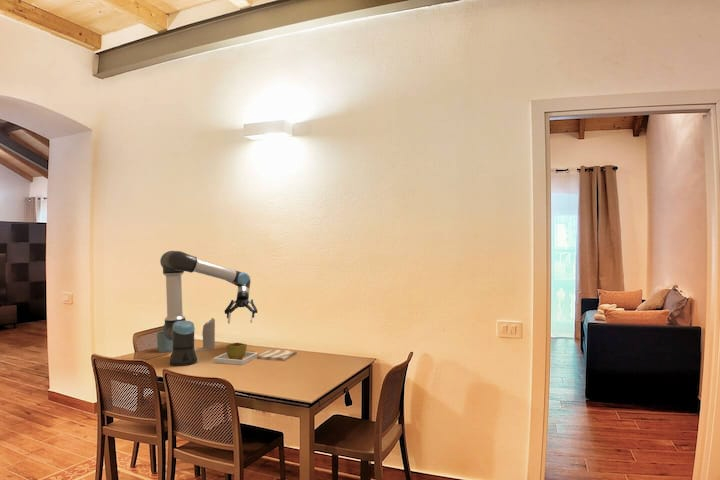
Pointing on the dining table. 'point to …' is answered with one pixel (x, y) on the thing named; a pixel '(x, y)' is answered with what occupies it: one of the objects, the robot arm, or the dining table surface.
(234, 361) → the grey square frame
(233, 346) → the flower pot
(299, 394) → the dining table surface
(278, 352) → the slatted trivet
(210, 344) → the grey upright panel
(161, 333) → the drinking glass
